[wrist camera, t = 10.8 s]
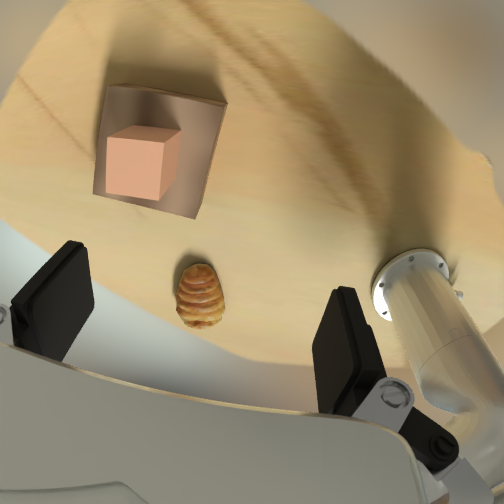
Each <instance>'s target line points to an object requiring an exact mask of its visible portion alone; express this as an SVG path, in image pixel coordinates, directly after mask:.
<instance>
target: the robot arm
mask: <svg viewBox="0 0 504 504" xmlns="http://www.w3.org/2000/svg"><path fill="white" fill-rule="evenodd" d="M371 296H372V302H373V305H374V307H375V309H376V311H377V313H378V314H379V315H380V316H381V317H383V318H385V319H387V320H390V321H392V322H393V324H394V326H395V329H396V331H397V333H398V336H399V338H400V340H401V343H402V345H403V348H404V350H405V353H406V355H407V358H408V360H409V363H410V365H411V368H412V370H413V373H414V375H415V378H416V380H417V383H418V386H419V389H420V391H421V393H422V395H423V397H424V398H425V400H426V401H427V402H428V403H430V404H431V405H433V406H434V407H436V408H439V409H442V410H444V411H448V412H451V413H454V416H453V417H452V419H451V420H450V421H448V422H447V423H445V424H444V425H442V426H440V425H438V424H437V423H436V422H434V421H433V420H431V419H430V418H429V417H427V416H426V415H424V414H423V413H421V412H420V411H419V410H417V409H416V408H415V407H413V404H414V393H413V391H412V389H411V388H410V387H409V385H408V384H406V383H405V382H404V381H402V380H400V379H398V378H393V377H387V375H386V371H385V368H384V365H383V362H382V358H381V355H380V352H379V349H378V346H377V343H376V340H375V336H374V333H373V330H372V328H371V326H370V325H368V324H367V323H366V320H365V317H364V314H363V311H362V308H361V305H360V302H359V299H358V296H357V293H356V290H355V288H351V287H344V286H339V287H338V289H333V291H332V293H331V296H330V298H329V301H328V304H327V306H326V309H325V312H324V314H323V317H322V320H321V322H320V325H319V328H318V330H317V333H316V335H315V338H314V340H313V344H312V353H313V362H314V371H315V380H316V389H317V399H318V410H319V413H312V412H300V411H289V410H280V409H272V408H262V407H254V406H247V405H239V404H233V403H226V402H220V401H213V400H207V399H202V398H197V397H191V396H186V395H181V394H176V393H171V392H167V391H162V390H158V389H153V388H149V387H145V386H141V385H137V384H133V383H129V382H125V381H121V380H118V379H114V378H110V377H107V376H103V375H100V374H96V373H93V372H90V371H86V370H83V369H80V368H77V367H73V366H71V365H67V364H65V363H62V360H63V358H64V357H65V355H66V353H67V352H68V350H69V348H70V347H71V345H72V343H73V342H74V340H75V338H76V337H77V335H78V333H79V332H80V330H81V328H82V327H83V325H84V323H85V322H86V321H87V319H88V317H89V316H90V314H91V313H92V311H93V309H94V296H93V290H92V283H91V276H90V268H89V260H88V252H87V248H86V247H84V245H83V243H82V242H76V241H71V240H69V241H67V242H66V243H65V244H64V245H63V246H62V247H61V248H60V249H59V250H58V251H57V252H56V253H55V254H54V255H53V256H52V257H51V258H50V259H49V260H48V261H47V262H46V263H45V264H44V265H43V266H42V267H41V268H40V269H39V270H38V272H37V273H36V274H35V275H34V276H33V277H32V278H31V279H30V280H29V281H28V282H27V283H26V284H25V285H24V287H23V288H22V289H21V290H20V291H19V292H18V293H17V294H16V295H15V297H14V298H13V299H12V300H11V304H12V306H11V307H10V308H8V307H7V306H6V305H4V304H0V504H504V483H503V484H501V485H499V486H498V487H496V488H494V489H493V490H491V488H493V487H494V486H496V485H498V484H500V483H501V482H503V481H504V369H503V368H502V366H501V364H500V363H499V361H498V360H497V358H496V356H495V355H494V353H493V352H492V350H491V348H490V347H489V345H488V343H487V342H486V340H485V339H484V337H483V335H482V334H481V332H480V331H479V329H478V327H477V326H476V324H475V323H474V321H473V320H472V318H471V316H470V315H469V313H468V312H467V310H466V309H465V307H464V306H463V304H462V303H461V301H460V300H461V299H462V298H463V292H462V291H456V290H455V291H454V289H453V288H452V286H451V285H450V284H449V270H448V266H447V264H446V262H445V261H444V259H443V258H442V257H441V256H440V255H439V254H438V253H436V252H434V251H432V250H428V249H414V250H410V251H407V252H404V253H402V254H400V255H398V256H396V257H395V258H394V259H392V260H391V261H390V262H388V263H387V264H386V265H385V266H384V267H383V268H382V270H381V271H380V273H379V274H378V275H377V277H376V279H375V281H374V284H373V287H372V295H371Z"/></svg>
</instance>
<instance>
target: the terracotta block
mask: <svg viewBox="0 0 504 504" xmlns="http://www.w3.org/2000/svg"><path fill="white" fill-rule="evenodd" d="M180 137H181V130H174V129H166V128H157V127H148V126H137V125H132V126H130V127H128V128H126V129H123V130H121V131H119V132H117V133H115V134H113V135H111V136H109V137H107V156H106V193H110V194H117V195H124V196H131V197H137V198H144V199H150V200H157V201H159V200H160V199H161V197H162V196H163V195H164V193H165V192H166V191H167V189H168V188H169V187H170V185H171V184H172V183H173V181H174V180H175V179H176V170H177V161H178V153H179V145H180Z"/></svg>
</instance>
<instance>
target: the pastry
mask: <svg viewBox="0 0 504 504" xmlns="http://www.w3.org/2000/svg"><path fill="white" fill-rule="evenodd" d="M175 295H176V300H177V307H176V311H177V313H178V314H179V316H180V317H181V319H182V320H183V321H184V323H185V325H187V326H188V327H191V328H195V329H205V328H210V327H213V326H215V325H216V324H217V323H219V322H220V320H221V319H222V314H223V313H224V310H225V304H224V296H223V292H222V289H221V286H220V284H219V281H218V278H217V275H216V273H215V272H214V270H213V269H212V268H211V267H210V266H209V265H207V264H194V265H192V266H190V267H189V268H187V269H185V270H184V271H183V274H182V277H181V279H180V281H179V285H178V290H177V292H176V294H175Z"/></svg>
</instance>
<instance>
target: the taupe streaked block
mask: <svg viewBox="0 0 504 504" xmlns="http://www.w3.org/2000/svg"><path fill="white" fill-rule="evenodd" d="M227 105H228V104H227V103H223V102H218V101H214V100H210V99H205V98H201V97H196V96H192V95H187V94H182V93H177V92H172V91H166V90H161V89H155V88H149V87H143V86H137V85H130V84H118V85H109V86H107V89H106V94H105V100H104V105H103V111H102V117H101V124H100V130H99V137H98V145H97V153H96V162H95V172H94V184H93V194H95V195H99V196H103V197H107V198H111V199H115V200H119V201H123V202H127V203H131V204H136V205H140V206H144V207H148V208H152V209H156V210H160V211H164V212H168V213H172V214H176V215H180V216H183V217H187V218H191V219H195V218H196V216H197V213H198V211H199V209H200V206H201V204H202V200H203V196H204V192H205V188H206V184H207V180H208V176H209V172H210V168H211V164H212V160H213V156H214V152H215V148H216V145H217V141H218V137H219V133H220V130H221V126H222V122H223V119H224V115H225V112H226V108H227ZM132 125H137V126H148V127H157V128H166V129H174V130H181V137H180V145H179V153H178V161H177V170H176V179H175V180H174V181H173V183H172V184H171V185H170V187H169V188H168V189H167V191H166V192H165V193H164V195H163V196H162V197H161V199H160V200H159V201H157V200H150V199H144V198H137V197H131V196H124V195H117V194H110V193H106V156H107V137H109V136H111V135H113V134H115V133H117V132H119V131H121V130H123V129H126V128H128V127H130V126H132Z"/></svg>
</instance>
